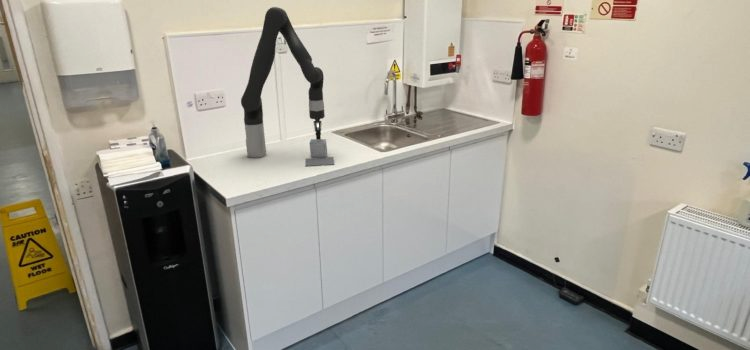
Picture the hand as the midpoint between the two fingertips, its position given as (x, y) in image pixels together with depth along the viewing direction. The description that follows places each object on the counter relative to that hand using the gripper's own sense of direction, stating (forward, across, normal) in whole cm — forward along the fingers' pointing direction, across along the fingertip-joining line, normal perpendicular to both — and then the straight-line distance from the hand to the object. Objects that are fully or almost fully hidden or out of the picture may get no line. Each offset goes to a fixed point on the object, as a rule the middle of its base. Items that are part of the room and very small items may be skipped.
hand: (318, 141), depth 237 cm
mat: (+7, +11, 0) cm, 13 cm away
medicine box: (+7, +3, 0) cm, 7 cm away
